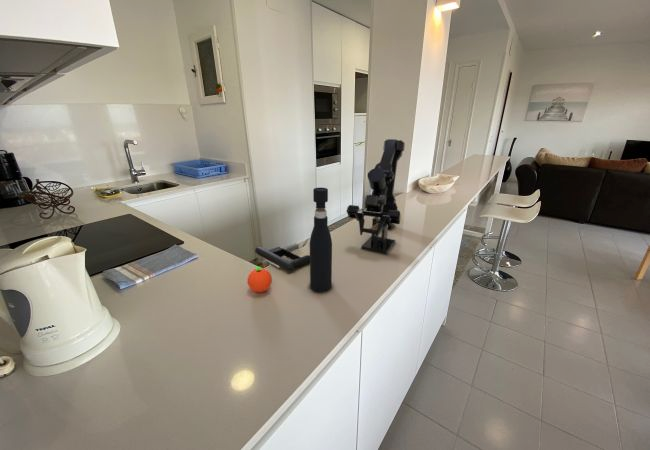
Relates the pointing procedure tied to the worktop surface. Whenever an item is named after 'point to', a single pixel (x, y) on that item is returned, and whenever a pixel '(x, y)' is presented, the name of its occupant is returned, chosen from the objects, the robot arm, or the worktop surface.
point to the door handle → (276, 258)
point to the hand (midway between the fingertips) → (368, 235)
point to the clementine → (259, 280)
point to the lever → (372, 228)
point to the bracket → (378, 241)
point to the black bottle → (320, 245)
